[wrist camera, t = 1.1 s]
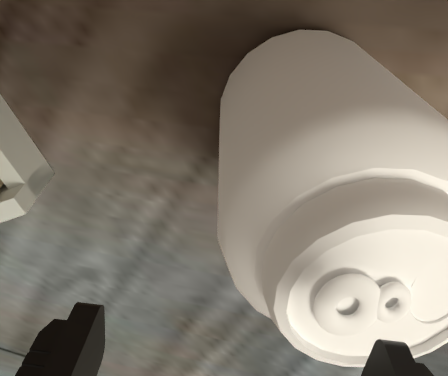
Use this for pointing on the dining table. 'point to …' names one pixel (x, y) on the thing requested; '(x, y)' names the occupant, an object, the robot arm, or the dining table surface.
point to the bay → (19, 167)
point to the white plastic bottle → (334, 198)
